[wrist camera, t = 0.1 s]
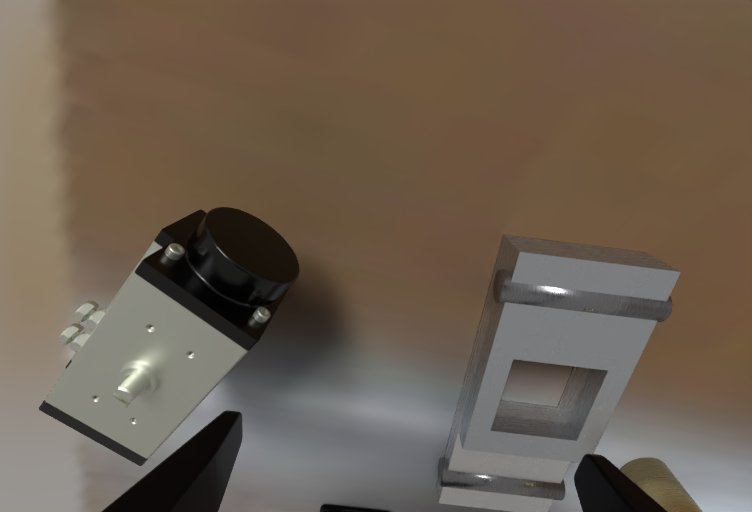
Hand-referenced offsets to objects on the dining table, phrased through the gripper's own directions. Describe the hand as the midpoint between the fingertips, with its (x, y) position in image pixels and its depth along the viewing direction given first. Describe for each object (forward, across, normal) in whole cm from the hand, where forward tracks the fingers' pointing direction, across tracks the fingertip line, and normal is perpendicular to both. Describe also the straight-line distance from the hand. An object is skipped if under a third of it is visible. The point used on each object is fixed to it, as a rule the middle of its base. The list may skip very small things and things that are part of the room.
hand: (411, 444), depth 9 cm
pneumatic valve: (+15, +10, +2) cm, 18 cm away
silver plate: (+15, -11, +10) cm, 21 cm away
